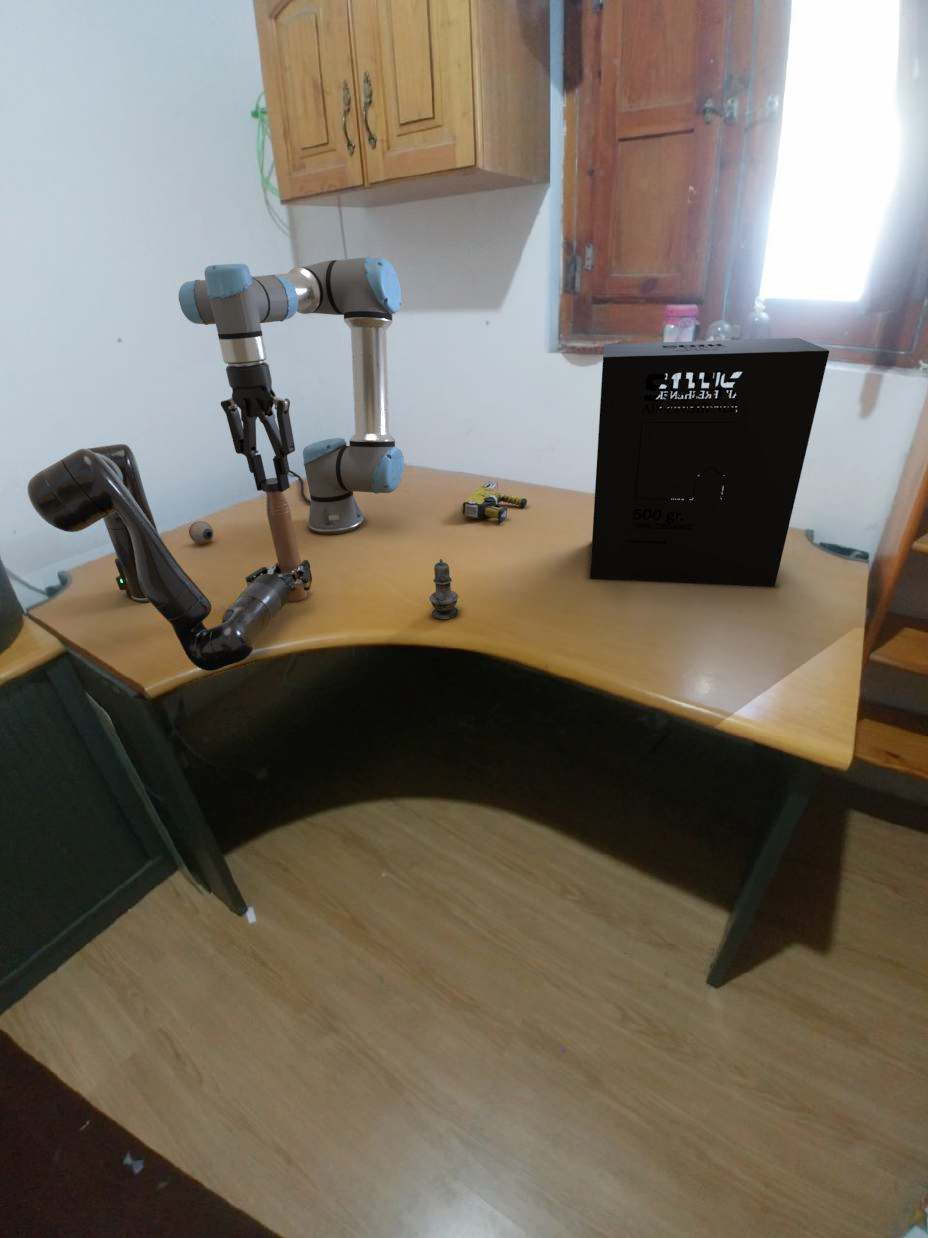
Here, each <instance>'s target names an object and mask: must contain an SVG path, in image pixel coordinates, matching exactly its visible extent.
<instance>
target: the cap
mask: <svg viewBox="0 0 928 1238" xmlns="http://www.w3.org/2000/svg"><path fill="white" fill-rule="evenodd" d="M261 488H262V490H261V491H262V492H264V493H266V492H276V491H279V486H278V482H277V477H270V478H266V479H265V480H263V481H261Z"/></svg>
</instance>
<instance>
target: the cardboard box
mask: <svg viewBox="0 0 928 1238" xmlns="http://www.w3.org/2000/svg"><path fill="white" fill-rule="evenodd" d="M829 356H830V350H829V349H827V348H824V347H822V346H819V345H817V344H815V343H813V342H809V341H808V340H804V339H802V338H799V337H787V338H786V337H785V338H756V339H755V338H753V339H751V338H750V339H724V340H691V341H689V340H688V341H661V342H631V343H604V344H603V353H602V368H601V385H600V386H601V387H600V399H599V400H600V402H599V416H598V417H599V419H598V434H597V436H598V437H597V452H596V467H595V468H596V470H595V487H594V502H593V503H594V504H593V521H592V535H591V536H592V538H591V554H590V569H589V571H590V572H589V578H590V579H600V580H625V581H647V582H665V583H666V582H667V583H668V582H669V583H688V584H689V583H691V584H692V583H693V584H714V585H735V586H755V587H756V586H757V587H759V586H760V587H776V583H777V579H778V575H779V572H780V571H779V570H780V566H781V562H782V557H783V553H784V549H785V545H786V541H787V536H788V532H789V528H790V523H791V519H792V514H793V510H794V506H795V502H796V497H797V493H798V489H799V485H800V480H801V475H802V473H803V472H802V471H803V467H804V464H805V457H806V454H807V449H808V446H809V441H810V437H811V433H812V428H813V425H814V419H815V415H816V411H817V407H818V403H819V398H820V395H821V390H822V385H823V381H824V376H825V373H826V368H827V363H828V360H829ZM735 373H740V374H739V376H738V377H733V375H734V374H735ZM676 374H680V378H678V381H677V387H674V386H675V385H674V384H675V378H673V377H674V375H676ZM687 374H692V378H691V384H694V385H693V387H689V385H690V378H687ZM701 374H703V378H700V376H701ZM718 374H719V378H718ZM722 377H723V382H722ZM717 379H718V383H717ZM722 383H723V384H727V383H729V384H731V383H733V384H732V387H731V386H730V387H726V386H725V387H724V386H723V385H722ZM703 384H708V387H702V385H703ZM662 386H665V387H664V388H663V387H662ZM661 387H662V388H661Z"/></svg>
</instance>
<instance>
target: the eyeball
mask: <svg viewBox="0 0 928 1238" xmlns="http://www.w3.org/2000/svg"><path fill="white" fill-rule="evenodd" d="M188 534H189V535H188V536H189V537H190V539H191V540H192V541H193V542H194V543H197V544H199V545H200V544H202V545H203V544H207V543H209V542H210V541H211V540H212V539H213V538H214V529H213V527H212V525H211V524H210V523H208V522H206V521H204V520H199V521H197V520H196V521H195V522H193V523H192V524H191V525H190V527H189V529H188Z"/></svg>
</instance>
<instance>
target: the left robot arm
mask: <svg viewBox="0 0 928 1238" xmlns="http://www.w3.org/2000/svg"><path fill="white" fill-rule="evenodd" d="M27 496H28V499H29V501H30V503H31V504H30V505H32V507H33V509H34V510H35V512H36V513H37V514H38V515H39V516H40V517H41V518H42V519H43V520H44V522H46V523H47V524H49V525H51V526H52V527H54V528H56V529H58V530H60V531H63V532H67V533H76V532H81V531H83V530H85V529H87V528H89V527H90V526H92V525H94V524H95V523H97V522H98V521H100V520H102V519H103V523H104V525H105V528H106V530H107V534H108V535H109V538H110V541H111V544H112V546H113V549H114V552H115V554H116V558H115V559H114V563H115V566H116V569H117V571H118V574H119V575H117V576H116V577H115V581H116V583H117V586H118V589H119V590H120V591H125V593H126V595H127V598H128V599H132V600H133V601H134V602H138V603H150V604H151V605H152V606H153V608H155V609H156V611H158V613H160V615H161V616H162V617H163V618H164V619H165V621H167V623H169V624H170V625H171V627H172V629H173V632H174V633H175V636H176V638H177V640H178V641H179V643H180V645H181V647H182V649H183V651H184V654H185V655H186V657H187V658H188V660H189V661H190V662H191V663H192V664H193V665H194V666H195V667H197V668H199V669H200V670H204V671H207V672H212V671H217V670H219V669H222V668H226V667H228V666H231V665H234V664H237V663H239V662H242V661H243V660H246V658H248V657H249V656H250V655H251V654H252V652H253V651H254V649H255V647H256V644H257V642H258V638H259V636H260V635H259V634H260V633H261V632H262V631H263V629H264V628H265V627H266V626H267V624H268V623H270V622H271V621H272V620H274V618H275V617H276V616H277V614H279V612H280V611H281V610H282V609H283V608H284V607H285V605H286V603H287V602H289V601H288V599H289V596H290V593H291V592H293V591H295V590H296V588H304V590H305V591H307V592H308V591H310V590H311V586H312V581H313V575H312V571H311V564H310V561H309V560H308V559H303V560H302V561H301V564H300V565H299V566H298V567H297V568H296V569H290V570H288V571H287V572H285V573H281V574H280V569H279V565H278V561H277V562H276V563H275V564H274V565H271V566H270V567H269V568H267V566H262V567H260V568H259V569H257V570H256V571H254V572H252V573H251V574H249V575H247V576H246V577H245V578H244V579H245V582H246V587H245V589H243V590H242V592H241V593H240V594H239V596H238V597H237V598H236V599H235V601H234V602H233V603H232V604H231V605H230V606H229V607H227V609H226V611H224V613H223V615H222V617H221V624H217V625H215V626H213V627H210V628H207V627H206V626H205V623H204V622H203V621H205V619H207V618H208V616H209V615H210V613H211V612H212V607H213V606H212V603H211V602H210V600H209V598H208V597H207V596H206V595H205V594H204V593H203V591H202V590H201V589H200V588H199V587H198V585H197V584H196V583H195V582H194V580H192V578H191V576H189V575H188V574H187V572H185V570H184V569H183V568H182V567H181V564H179V563H178V561H177V560H176V558H175V557H174V555H173V554H172V553H171V550H169V548H168V547H167V544H165V543H164V541H163V539H162V537H161V536H160V534H159V532H158V531H159V530H158V529H157V525H156V522H155V519H154V515H153V512H152V510H151V508H150V504H149V501H148V499H147V494H146V492H145V488H144V485H143V481H142V478H141V473H140V469H139V466H138V462H137V460H136V457H135V454H134V452H133V450H132V449H131V448H130V446H128V445H127V444H125V443H118V444H109V445H102V446H95V447H88V448H80V449H77V450H75V451H73V452H71V453H70V454H68V455H66V456H64V457H63V458H62V459H59V460H58V461H56V462H55V463H53V464H51V465H49V466H48V467H46V468H44V469H43V470H41V471H39V472H37V473H36V474H34V476H32V477H31V478H30V479H29V481H28V484H27ZM298 573H299V576H298Z"/></svg>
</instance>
